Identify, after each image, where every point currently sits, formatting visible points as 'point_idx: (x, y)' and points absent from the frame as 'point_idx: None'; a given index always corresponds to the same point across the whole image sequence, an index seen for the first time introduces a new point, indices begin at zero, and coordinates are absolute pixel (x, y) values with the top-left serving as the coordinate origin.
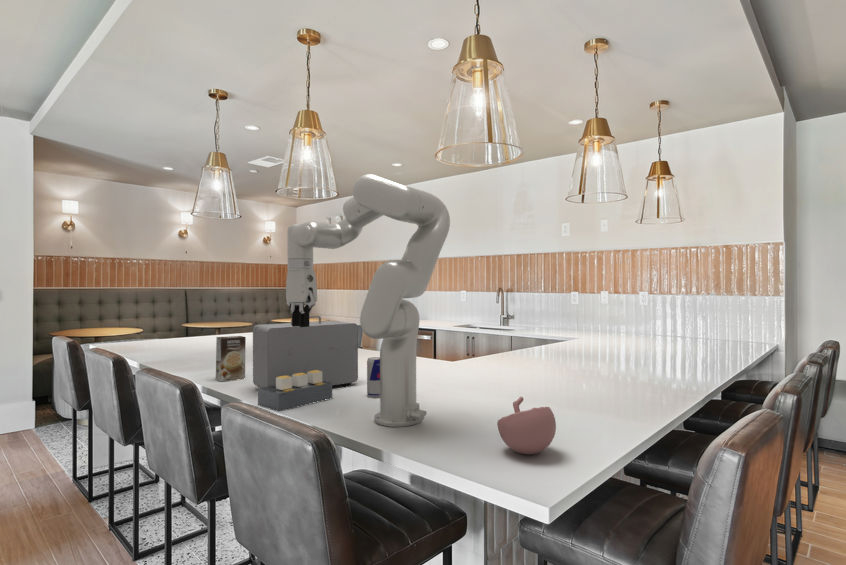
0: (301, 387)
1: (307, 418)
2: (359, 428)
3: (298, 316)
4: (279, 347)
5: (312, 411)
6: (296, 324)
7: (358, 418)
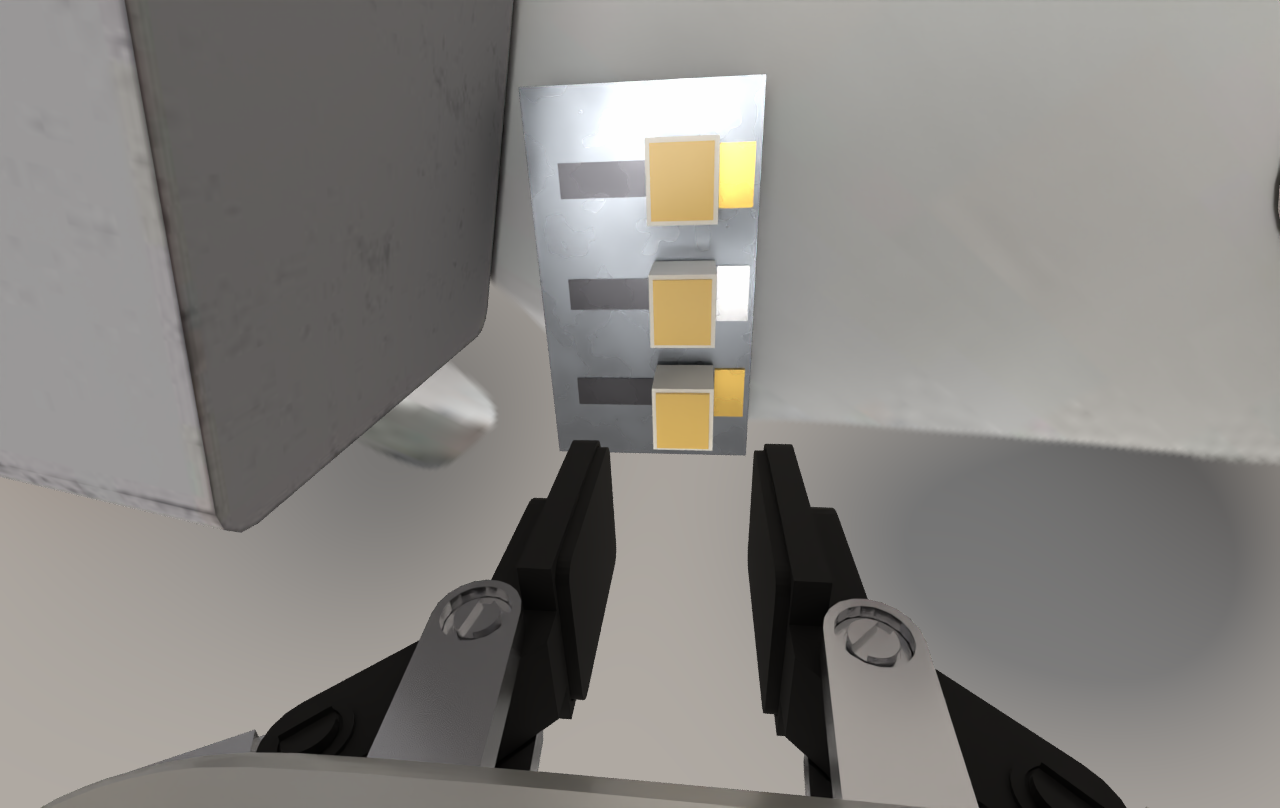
0: (737, 319)
1: (934, 405)
2: (1261, 363)
3: (584, 588)
4: (347, 355)
5: (868, 327)
6: (610, 532)
7: (1170, 264)
